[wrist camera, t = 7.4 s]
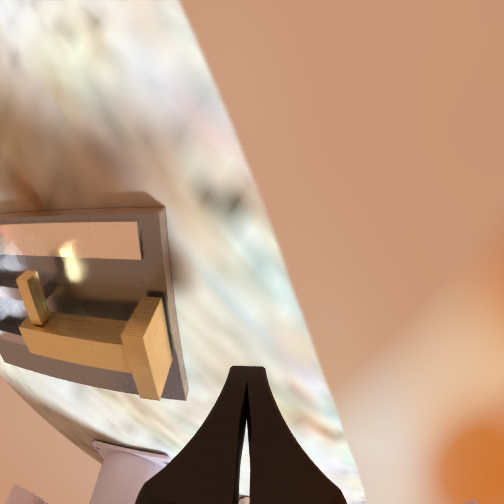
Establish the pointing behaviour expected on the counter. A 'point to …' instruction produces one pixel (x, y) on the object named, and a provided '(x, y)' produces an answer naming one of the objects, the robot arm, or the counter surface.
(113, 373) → the gauge base
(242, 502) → the supplement box
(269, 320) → the counter surface
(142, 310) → the wooden u-shaped cradle
